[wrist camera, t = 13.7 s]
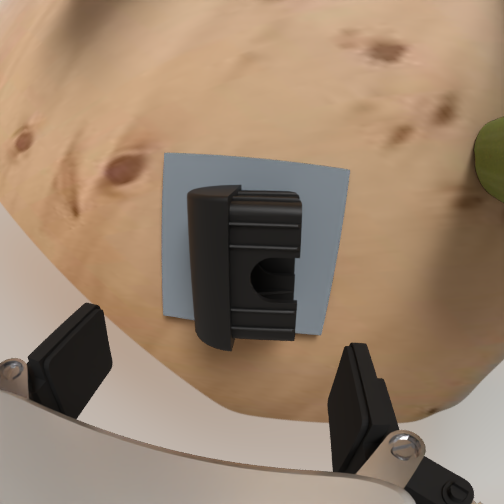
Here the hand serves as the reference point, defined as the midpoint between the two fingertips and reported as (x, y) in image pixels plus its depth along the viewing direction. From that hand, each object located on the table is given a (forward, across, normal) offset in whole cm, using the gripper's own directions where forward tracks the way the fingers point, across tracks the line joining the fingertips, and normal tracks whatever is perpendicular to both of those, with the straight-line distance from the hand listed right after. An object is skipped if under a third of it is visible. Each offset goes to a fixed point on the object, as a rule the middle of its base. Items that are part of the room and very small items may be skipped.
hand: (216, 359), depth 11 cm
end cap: (+14, 0, +1) cm, 14 cm away
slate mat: (+15, +1, +1) cm, 15 cm away
